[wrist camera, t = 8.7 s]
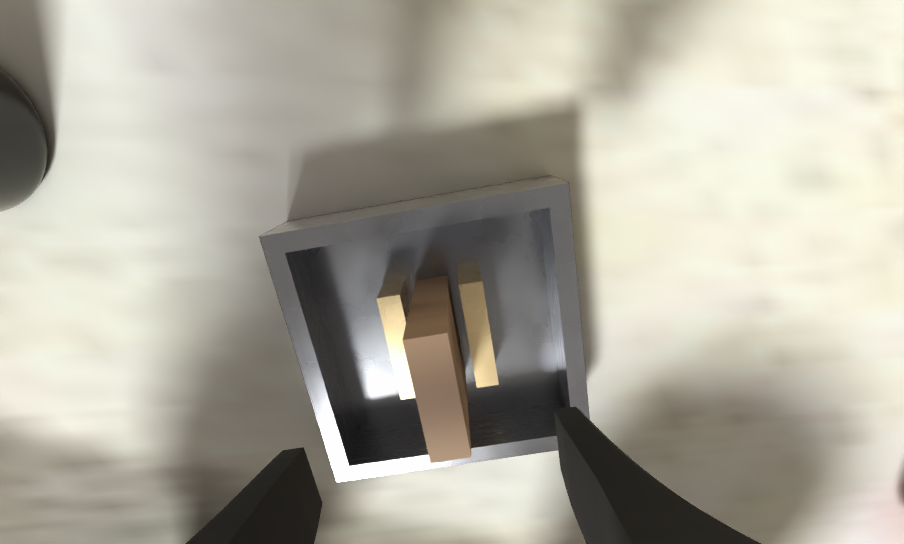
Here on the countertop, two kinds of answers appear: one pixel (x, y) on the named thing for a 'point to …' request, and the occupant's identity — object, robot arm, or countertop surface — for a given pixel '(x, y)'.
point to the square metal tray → (476, 310)
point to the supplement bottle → (19, 145)
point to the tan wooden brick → (438, 370)
